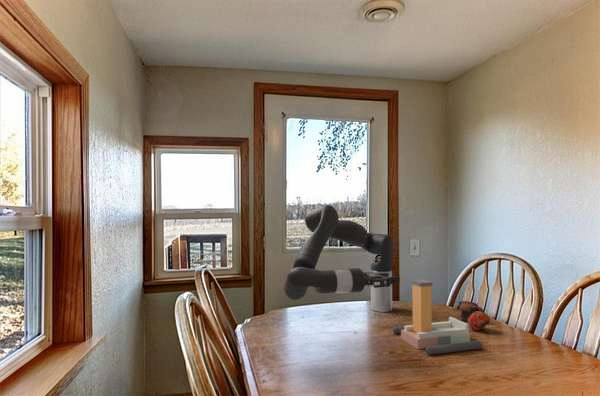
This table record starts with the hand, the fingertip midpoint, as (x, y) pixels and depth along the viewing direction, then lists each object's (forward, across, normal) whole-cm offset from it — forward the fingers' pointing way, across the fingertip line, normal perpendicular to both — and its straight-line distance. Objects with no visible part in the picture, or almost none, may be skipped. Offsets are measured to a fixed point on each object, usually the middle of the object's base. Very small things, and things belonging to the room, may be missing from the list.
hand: (393, 278), depth 126 cm
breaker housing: (+16, 0, +22) cm, 27 cm away
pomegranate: (+38, +4, +22) cm, 44 cm away
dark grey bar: (+16, -10, +22) cm, 29 cm away
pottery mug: (+44, +17, +22) cm, 52 cm away
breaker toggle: (+11, 0, +19) cm, 22 cm away
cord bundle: (+16, +10, +22) cm, 29 cm away
